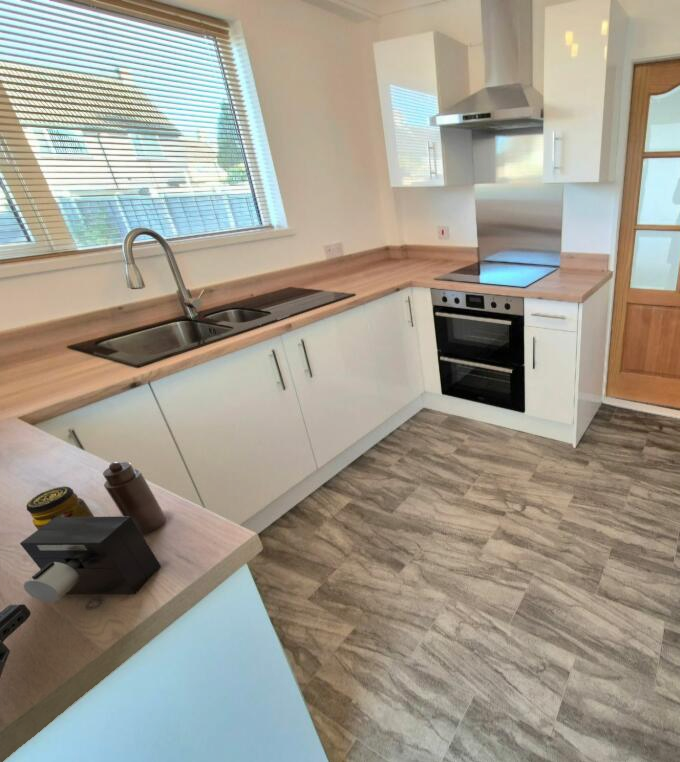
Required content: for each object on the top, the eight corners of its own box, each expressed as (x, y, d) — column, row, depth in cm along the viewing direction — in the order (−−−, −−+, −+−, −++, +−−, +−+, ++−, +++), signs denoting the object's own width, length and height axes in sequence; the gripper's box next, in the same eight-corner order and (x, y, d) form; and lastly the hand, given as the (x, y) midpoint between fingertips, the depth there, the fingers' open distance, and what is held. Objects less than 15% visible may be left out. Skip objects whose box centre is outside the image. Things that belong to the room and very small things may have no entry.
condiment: (51, 560, 70) (8, 505, 65) (110, 524, 77) (76, 471, 72) (74, 573, 68) (32, 517, 62) (134, 535, 75) (100, 481, 69)
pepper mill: (127, 539, 74) (86, 474, 67) (144, 519, 78) (106, 456, 72) (158, 534, 74) (119, 469, 68) (172, 515, 79) (138, 452, 72)
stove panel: (135, 597, 63) (99, 543, 58) (60, 596, 64) (18, 543, 59) (162, 568, 68) (130, 516, 63) (92, 568, 69) (55, 516, 64)
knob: (65, 603, 57) (46, 579, 55) (35, 602, 58) (15, 579, 56) (99, 571, 62) (82, 548, 60) (71, 571, 62) (53, 548, 60)
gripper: (-148, 765, 37) (54, 588, 52) (-282, 761, 38) (-44, 588, 53) (-88, 805, 40) (85, 627, 56) (-213, 800, 41) (-8, 626, 56)
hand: (21, 608), depth 54 cm, fingers closed
